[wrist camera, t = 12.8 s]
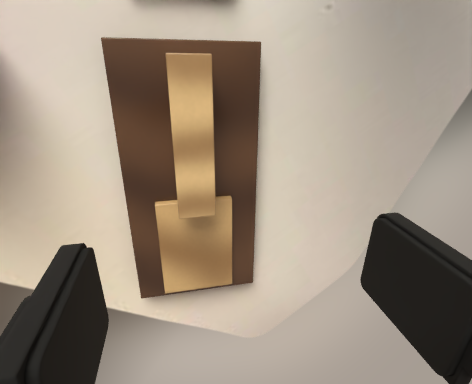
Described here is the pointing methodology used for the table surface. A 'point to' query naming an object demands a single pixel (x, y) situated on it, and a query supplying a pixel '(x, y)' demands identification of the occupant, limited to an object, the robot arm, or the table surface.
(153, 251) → the walnut board
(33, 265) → the table surface
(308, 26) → the table surface
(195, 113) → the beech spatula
